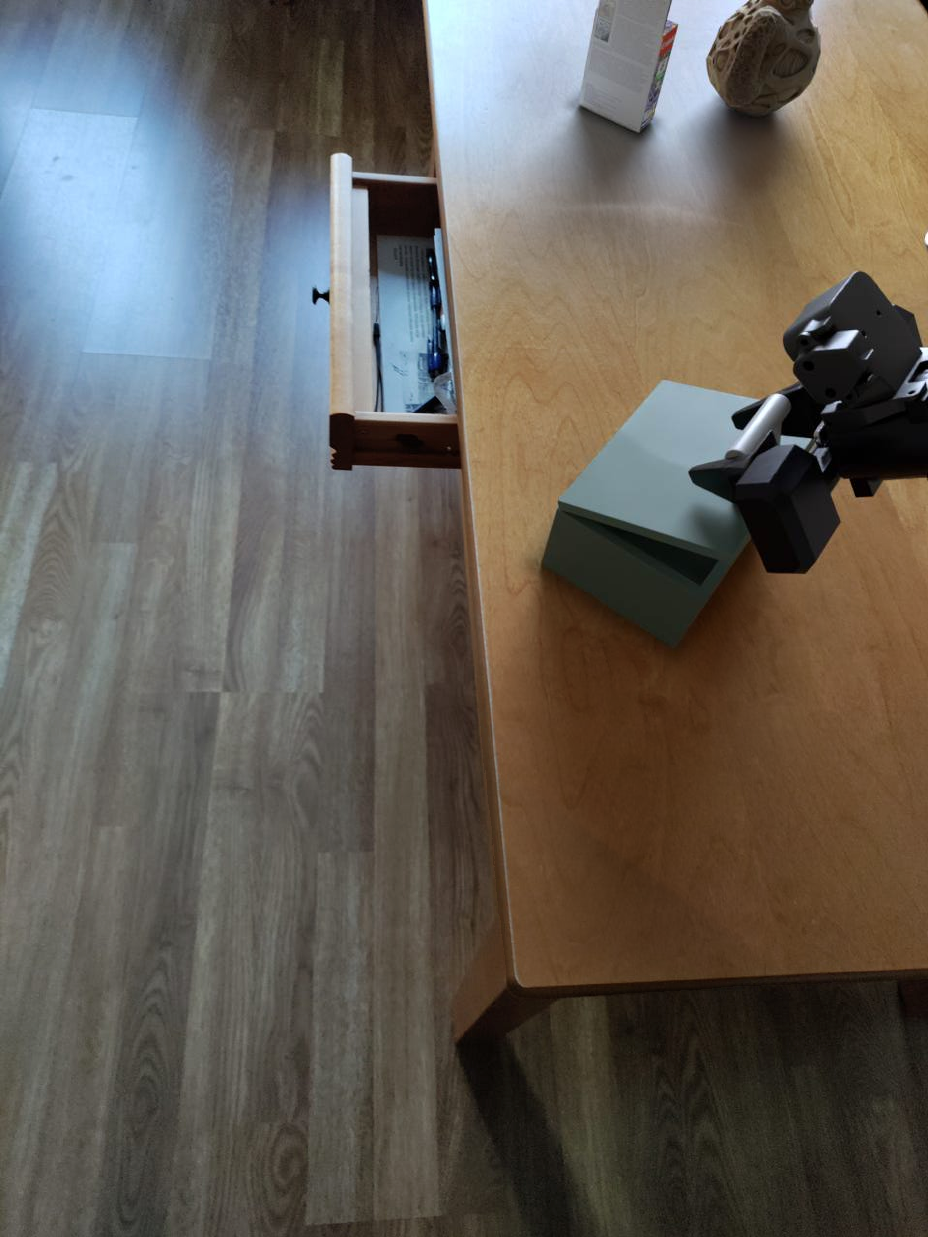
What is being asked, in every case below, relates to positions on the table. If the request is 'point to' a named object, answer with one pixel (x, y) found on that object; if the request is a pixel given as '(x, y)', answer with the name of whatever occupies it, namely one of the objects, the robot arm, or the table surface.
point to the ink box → (627, 60)
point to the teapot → (765, 55)
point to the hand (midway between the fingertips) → (713, 447)
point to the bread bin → (634, 573)
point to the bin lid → (676, 468)
